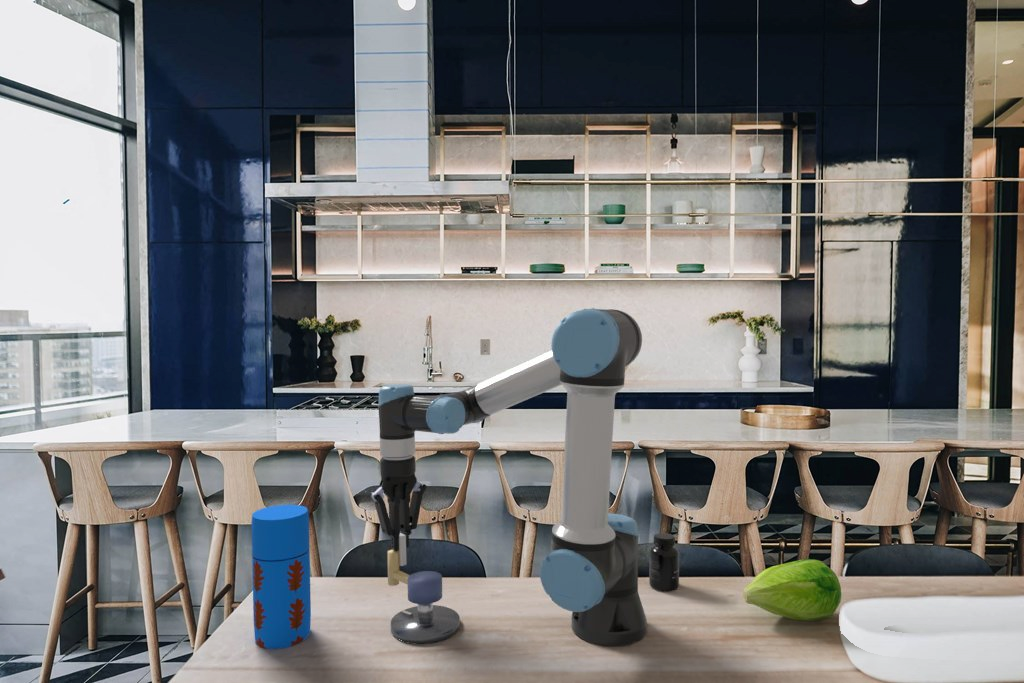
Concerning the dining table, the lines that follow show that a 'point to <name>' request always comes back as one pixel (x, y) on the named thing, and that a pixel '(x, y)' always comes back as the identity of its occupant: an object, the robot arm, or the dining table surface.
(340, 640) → the dining table surface
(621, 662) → the dining table surface
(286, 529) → the thermos
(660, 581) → the supplement bottle
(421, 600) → the blue crank handle
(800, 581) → the lettuce
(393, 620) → the post base
